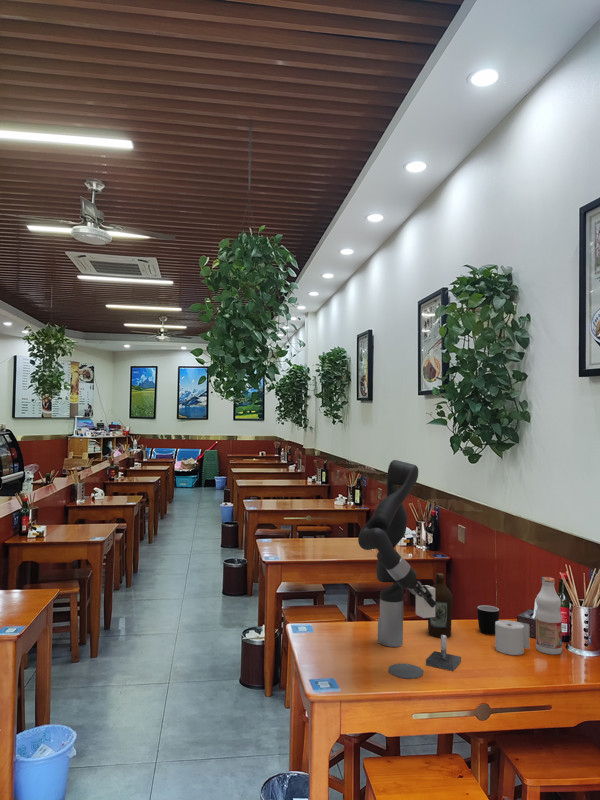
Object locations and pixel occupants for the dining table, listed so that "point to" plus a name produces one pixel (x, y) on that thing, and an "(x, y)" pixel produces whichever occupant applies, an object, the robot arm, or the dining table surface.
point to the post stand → (443, 657)
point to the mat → (405, 671)
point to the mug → (487, 618)
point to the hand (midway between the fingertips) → (429, 603)
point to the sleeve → (425, 605)
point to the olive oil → (441, 609)
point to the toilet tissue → (511, 637)
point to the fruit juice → (548, 619)
